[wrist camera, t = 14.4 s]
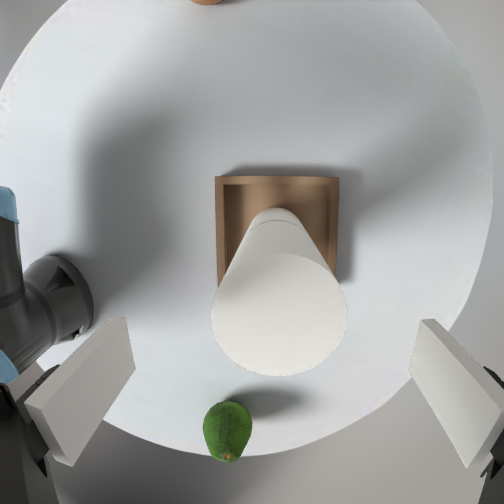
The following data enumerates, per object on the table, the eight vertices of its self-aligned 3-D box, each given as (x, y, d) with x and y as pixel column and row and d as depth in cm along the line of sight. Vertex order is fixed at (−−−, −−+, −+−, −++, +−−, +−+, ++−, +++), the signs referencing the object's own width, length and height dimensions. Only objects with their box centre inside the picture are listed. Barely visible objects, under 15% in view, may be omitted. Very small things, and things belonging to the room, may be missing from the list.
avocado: (250, 425, 49) (245, 475, 37) (207, 418, 49) (194, 467, 37) (257, 394, 47) (252, 446, 35) (210, 386, 47) (195, 436, 36)
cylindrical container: (313, 226, 39) (373, 298, 15) (284, 271, 41) (297, 393, 17) (266, 196, 39) (256, 225, 15) (238, 243, 40) (188, 337, 16)
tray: (221, 286, 43) (218, 293, 40) (219, 176, 39) (214, 176, 36) (329, 287, 42) (333, 295, 39) (334, 177, 38) (338, 177, 35)
